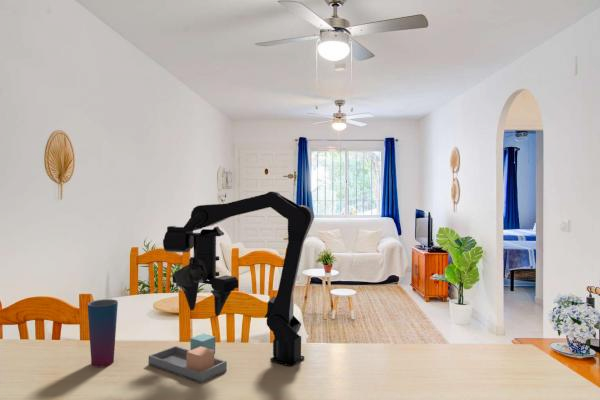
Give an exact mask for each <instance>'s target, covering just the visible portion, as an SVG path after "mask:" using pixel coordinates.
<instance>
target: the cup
mask: <svg viewBox="0 0 600 400" xmlns="http://www.w3.org/2000/svg"><path fill="white" fill-rule="evenodd" d="M118 305H119V301H118V300H117V299H111V298H110V299H108V298H107V299H106V298H104V299H96V300H92V301H89V302H88V303H87V314H88V315H87V318H88V330H89V331H88V332H89V349H90V362H91V366H92V367H93V368H94V367H95V368H103V367H108V366H110V365H113V363H114V362H115V347H116V335H117V334H116V333H117V320H118V319H117V318H118V307H119V306H118Z"/></svg>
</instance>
